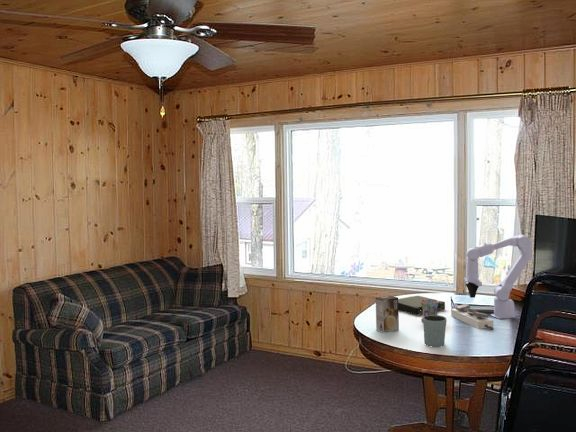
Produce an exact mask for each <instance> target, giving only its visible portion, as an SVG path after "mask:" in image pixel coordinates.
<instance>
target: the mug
mask: <svg viewBox="0 0 576 432" xmlns="http://www.w3.org/2000/svg"><path fill="white" fill-rule="evenodd" d="M439 301H440V300H438V299H434V298H430V299H423V300H421V301H420V302H421V304H422V307H423V314H422V317H421V318H420V320H421V321H422V322H423V317H424V316H426V315H438V314H437V313H438V310H437V307H438V304H439Z"/></svg>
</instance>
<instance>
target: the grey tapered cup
mask: <svg viewBox="0 0 576 432" xmlns="http://www.w3.org/2000/svg"><path fill="white" fill-rule="evenodd" d="M447 321H448V320H447V317H445V316H443V315H439V314H437V315H426V316H424V317H423V321H422V322H423V340H424V341H423V342H424V345H425V344H426V345H428V346H427V347H429V346H432V347H431V348H442V347H444V346H445V342H446V341H445V340H446V330H447V329H446V327H447ZM426 345H425V346H426ZM441 346H442V347H441Z"/></svg>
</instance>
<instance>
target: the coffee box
mask: <svg viewBox="0 0 576 432" xmlns="http://www.w3.org/2000/svg"><path fill="white" fill-rule="evenodd" d="M398 299H399V297H397V296H394V295H385V296H380V297H375V316H376V317H375V322H376V323H375V325H376V328H375V329H376V331H378V330H379V332H380V331H382V332H381V333H383V332H386V333H390V332H396V330H397V331H399V330H400V323H399V311H400V310H398Z"/></svg>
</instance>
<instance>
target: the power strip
mask: <svg viewBox="0 0 576 432" xmlns="http://www.w3.org/2000/svg"><path fill="white" fill-rule="evenodd" d="M450 313H451V314H450V316H451V317H453V318H455V319H457V320H459V321H462V322H464V323H465V324H467V325H470V326H471V327H474V328H475V329H478V330H482V329H490V330H491V331H493V330H494V319H491V318H489V317H488V318H485V317H478V316H475V315H473V313H471V312H468V311H466V310H462V311H458V310H456V308H451V311H450Z"/></svg>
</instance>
